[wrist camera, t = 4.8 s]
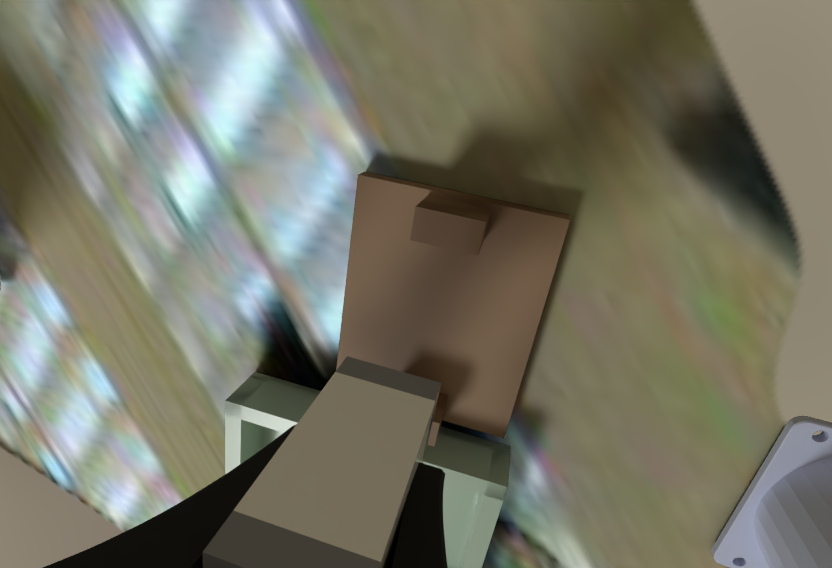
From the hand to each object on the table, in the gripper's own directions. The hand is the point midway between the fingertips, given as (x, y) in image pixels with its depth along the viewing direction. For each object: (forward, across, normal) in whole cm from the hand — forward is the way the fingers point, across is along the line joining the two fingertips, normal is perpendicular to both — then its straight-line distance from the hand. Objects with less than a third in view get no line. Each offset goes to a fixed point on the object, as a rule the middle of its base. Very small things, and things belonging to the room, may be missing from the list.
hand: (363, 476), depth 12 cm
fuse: (+2, 0, 0) cm, 2 cm away
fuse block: (+9, 0, 0) cm, 9 cm away
